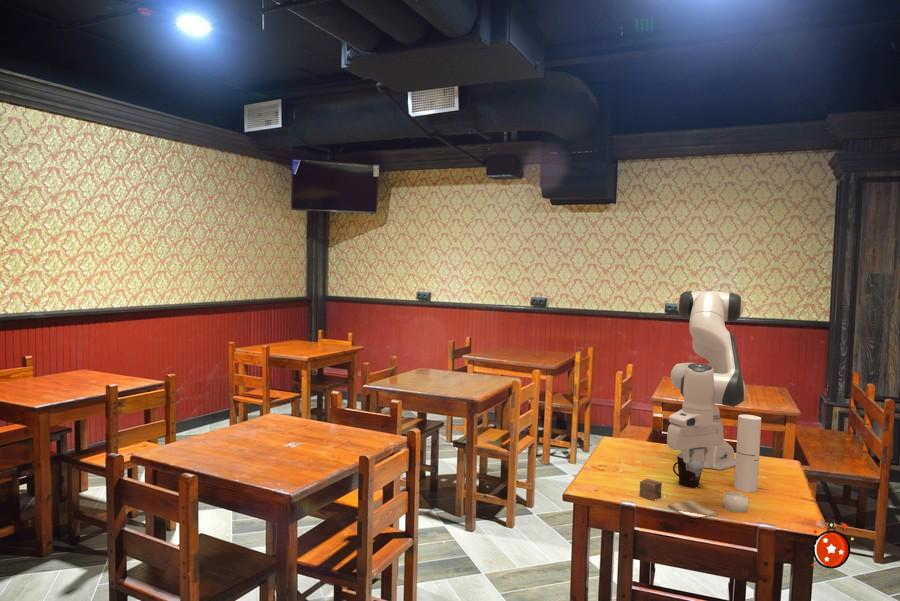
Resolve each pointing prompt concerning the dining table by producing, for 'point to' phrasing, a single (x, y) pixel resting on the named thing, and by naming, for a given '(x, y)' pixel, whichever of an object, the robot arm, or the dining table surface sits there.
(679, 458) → the coffee mug
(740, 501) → the white rounded block
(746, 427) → the cylindrical container
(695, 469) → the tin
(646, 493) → the walnut block
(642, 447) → the dining table surface
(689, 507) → the wavy beige sheet
